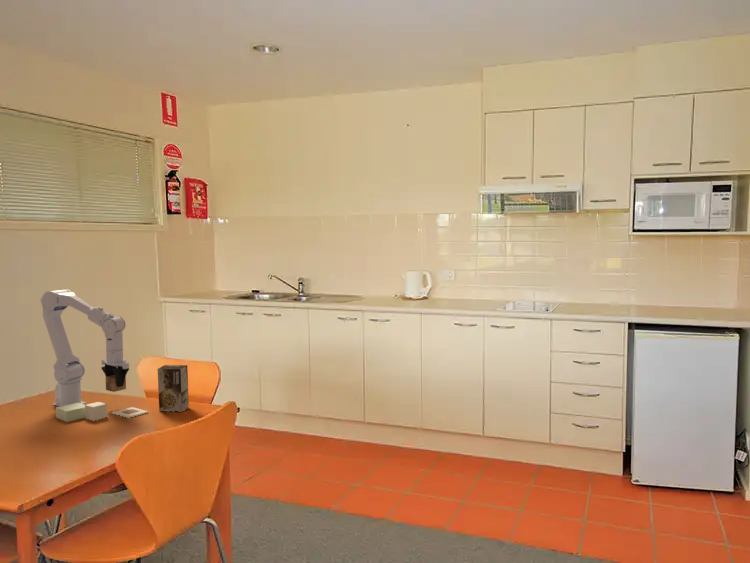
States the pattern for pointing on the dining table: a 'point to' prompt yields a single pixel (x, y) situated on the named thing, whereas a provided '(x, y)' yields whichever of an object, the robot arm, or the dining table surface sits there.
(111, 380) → the walnut cube
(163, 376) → the coffee box
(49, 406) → the dining table surface
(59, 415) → the base block
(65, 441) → the dining table surface
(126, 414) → the card
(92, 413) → the grey cube
